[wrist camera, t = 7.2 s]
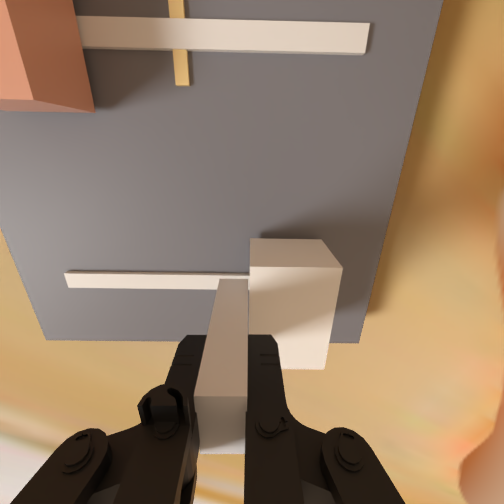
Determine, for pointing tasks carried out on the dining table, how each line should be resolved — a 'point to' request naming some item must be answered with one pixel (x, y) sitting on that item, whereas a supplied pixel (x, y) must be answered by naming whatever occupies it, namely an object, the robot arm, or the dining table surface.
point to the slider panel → (211, 157)
